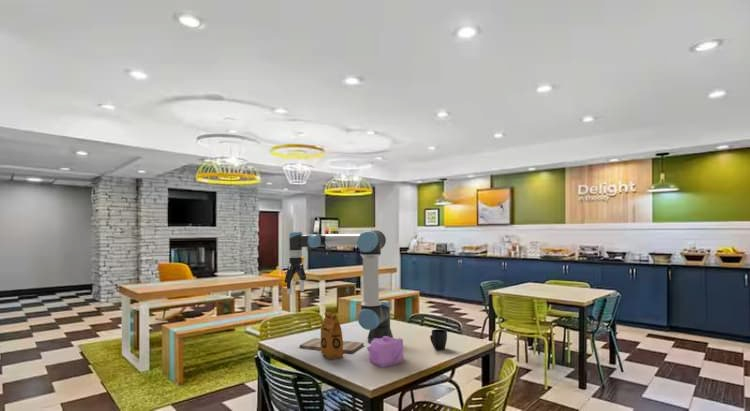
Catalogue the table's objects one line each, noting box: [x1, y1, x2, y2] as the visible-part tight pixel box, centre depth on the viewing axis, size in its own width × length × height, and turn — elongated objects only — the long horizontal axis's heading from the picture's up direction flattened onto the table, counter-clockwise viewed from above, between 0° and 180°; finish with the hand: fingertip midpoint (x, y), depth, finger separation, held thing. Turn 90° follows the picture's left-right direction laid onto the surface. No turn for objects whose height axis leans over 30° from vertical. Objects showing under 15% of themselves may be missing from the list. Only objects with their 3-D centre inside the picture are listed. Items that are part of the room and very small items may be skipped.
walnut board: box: [299, 337, 365, 355], centre depth 227 cm, size 32×16×2 cm, turn 68°
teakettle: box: [366, 336, 404, 368], centre depth 200 cm, size 17×17×12 cm
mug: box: [429, 328, 448, 351], centre depth 219 cm, size 8×12×10 cm
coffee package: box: [320, 311, 344, 360], centre depth 211 cm, size 10×12×22 cm
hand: (295, 292), depth 244 cm, fingers open, 13 cm apart
